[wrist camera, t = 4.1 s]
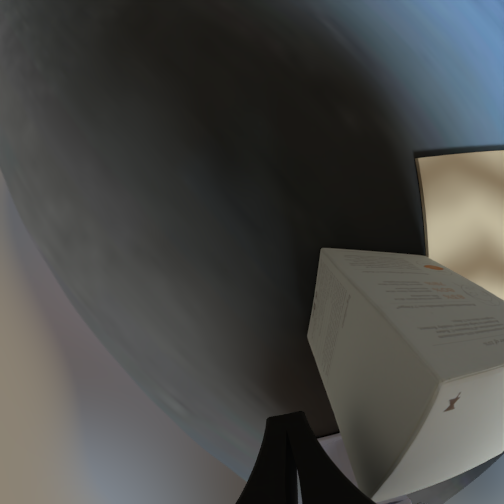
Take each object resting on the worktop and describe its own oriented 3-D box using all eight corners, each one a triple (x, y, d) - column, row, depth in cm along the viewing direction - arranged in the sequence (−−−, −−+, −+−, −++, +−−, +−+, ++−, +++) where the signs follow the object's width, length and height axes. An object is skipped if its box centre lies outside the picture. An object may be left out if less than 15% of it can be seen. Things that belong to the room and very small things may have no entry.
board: (517, 334, 20) (519, 336, 20) (419, 386, 21) (421, 389, 20) (525, 149, 15) (528, 149, 15) (414, 158, 16) (418, 158, 16)
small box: (305, 337, 19) (358, 509, 6) (319, 245, 18) (441, 379, 5) (406, 335, 19) (503, 455, 7) (426, 254, 18) (571, 339, 5)
